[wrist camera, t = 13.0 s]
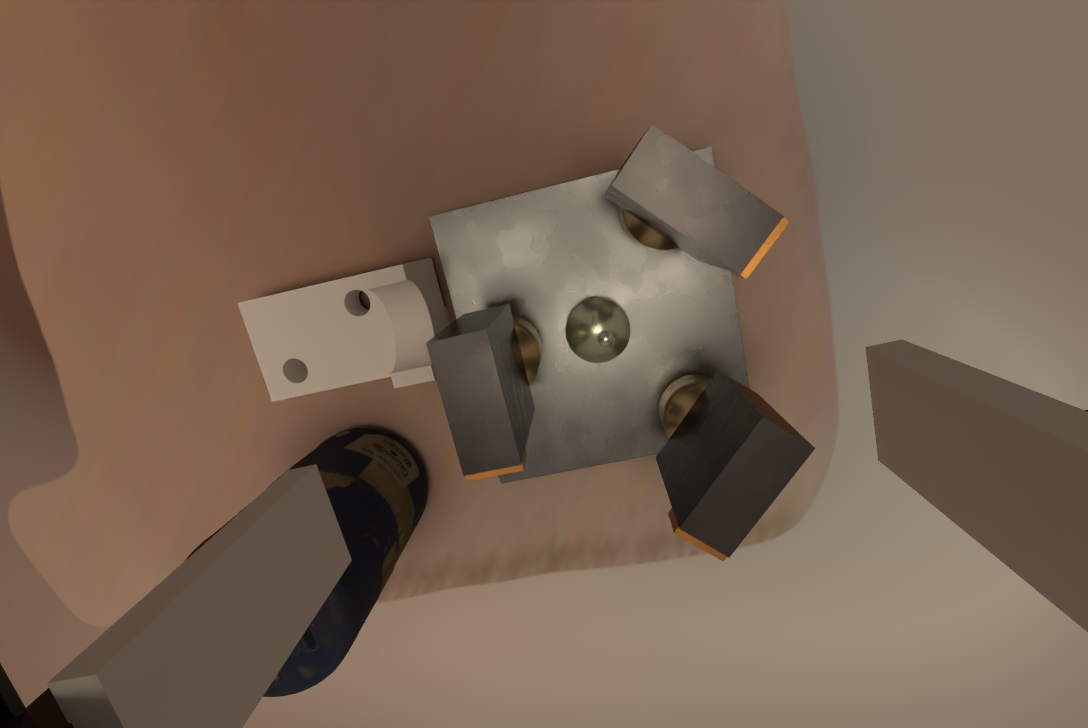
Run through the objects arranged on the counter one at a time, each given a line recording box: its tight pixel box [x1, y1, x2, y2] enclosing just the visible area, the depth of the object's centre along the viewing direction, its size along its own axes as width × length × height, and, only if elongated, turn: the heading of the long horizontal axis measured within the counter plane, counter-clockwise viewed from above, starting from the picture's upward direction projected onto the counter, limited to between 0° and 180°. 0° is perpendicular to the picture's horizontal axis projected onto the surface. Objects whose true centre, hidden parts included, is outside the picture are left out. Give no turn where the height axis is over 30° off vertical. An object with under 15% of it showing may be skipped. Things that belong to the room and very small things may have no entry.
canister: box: [184, 429, 427, 697], centre depth 36 cm, size 10×10×18 cm
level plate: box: [429, 147, 749, 484], centre depth 39 cm, size 20×19×2 cm
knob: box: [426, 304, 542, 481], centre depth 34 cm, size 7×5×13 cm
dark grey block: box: [603, 124, 789, 279], centre depth 31 cm, size 7×5×13 cm
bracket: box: [238, 258, 451, 402], centre depth 38 cm, size 13×7×8 cm, turn 103°
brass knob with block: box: [656, 370, 815, 561], centre depth 34 cm, size 7×5×13 cm
